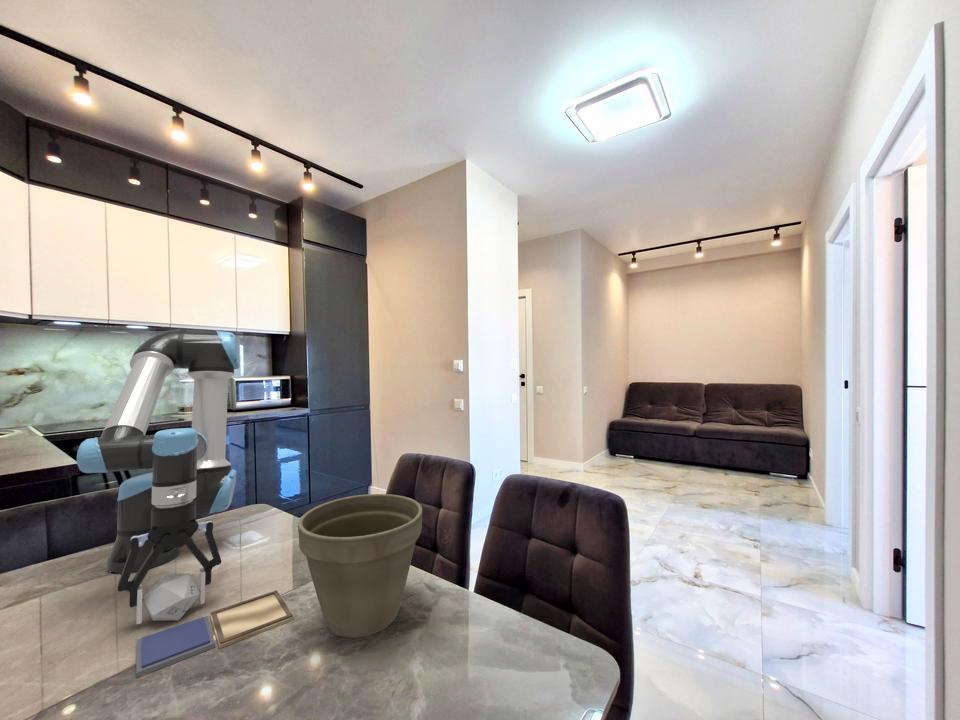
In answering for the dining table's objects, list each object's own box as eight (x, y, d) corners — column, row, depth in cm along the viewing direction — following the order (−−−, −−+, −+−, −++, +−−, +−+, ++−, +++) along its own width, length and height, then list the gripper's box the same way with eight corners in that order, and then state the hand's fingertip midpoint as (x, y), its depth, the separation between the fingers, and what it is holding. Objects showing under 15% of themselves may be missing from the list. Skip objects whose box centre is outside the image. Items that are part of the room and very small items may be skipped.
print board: (209, 616, 82) (209, 612, 82) (277, 593, 90) (277, 589, 90) (219, 648, 72) (219, 643, 72) (294, 619, 80) (294, 615, 80)
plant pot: (368, 678, 65) (369, 545, 66) (267, 637, 75) (269, 522, 76) (444, 599, 87) (443, 501, 88) (358, 576, 98) (359, 488, 99)
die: (152, 639, 76) (191, 588, 79) (121, 611, 77) (161, 563, 81) (182, 629, 83) (217, 583, 87) (153, 604, 85) (189, 560, 89)
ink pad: (136, 644, 73) (136, 637, 73) (207, 619, 81) (207, 613, 81) (136, 677, 65) (136, 670, 65) (215, 647, 72) (215, 640, 72)
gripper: (99, 520, 73) (95, 643, 72) (238, 495, 87) (236, 597, 86) (102, 510, 78) (99, 624, 77) (232, 488, 93) (230, 584, 92)
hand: (171, 610), depth 82 cm, fingers closed on die, 10 cm apart
